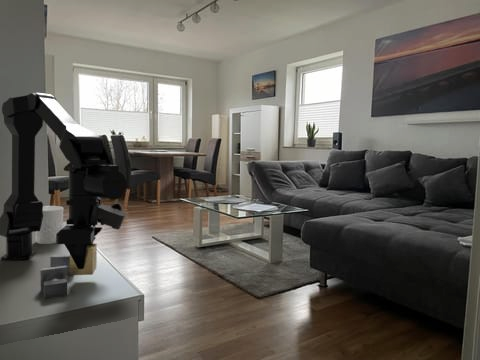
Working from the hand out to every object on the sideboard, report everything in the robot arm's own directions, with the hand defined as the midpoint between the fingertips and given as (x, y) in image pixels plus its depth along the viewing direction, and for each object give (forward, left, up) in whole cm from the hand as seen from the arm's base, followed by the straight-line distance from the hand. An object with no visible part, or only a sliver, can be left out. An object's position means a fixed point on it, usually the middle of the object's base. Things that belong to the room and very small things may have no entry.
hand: (83, 265), depth 78 cm
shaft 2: (-7, -5, -4) cm, 9 cm away
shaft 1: (+5, -4, -4) cm, 8 cm away
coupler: (0, 0, -1) cm, 1 cm away
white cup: (-33, -16, -4) cm, 37 cm away
